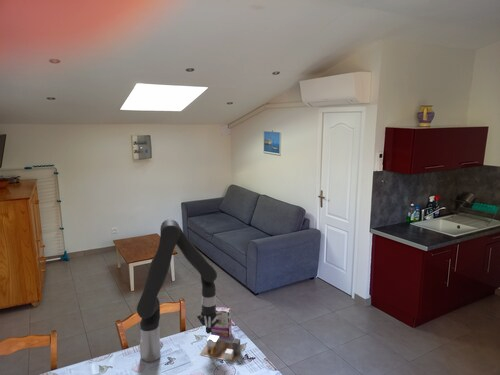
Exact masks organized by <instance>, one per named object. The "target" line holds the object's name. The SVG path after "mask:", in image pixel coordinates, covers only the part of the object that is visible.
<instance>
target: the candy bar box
mask: <svg viewBox="0 0 500 375" xmlns="http://www.w3.org/2000/svg"><path fill="white" fill-rule="evenodd" d="M216 314H217V316H218V317H220V318H221V319H220V320H219V322H218V323H217V324H216V325H215V326H214V327H212V331H211V333H210V335H215V336H219V337H223V338H230V337H231V336H232V308H230V307H223V306H216ZM214 322H215V318H214V320H213V322H212V323H214Z"/></svg>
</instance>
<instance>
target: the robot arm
mask: <svg viewBox="0 0 500 375" xmlns="http://www.w3.org/2000/svg"><path fill="white" fill-rule="evenodd" d="M159 232H160V236H159V241H158V247H157V250H156V253H154V256H153V258H152V260H151V262H150V265H149V268H148V271H147V276H146V279H145V282H144V287H143V292H142V294H141V296H140V299H139V301H138V303H137V305H136V314H137V315H138V316H139V318H141V319H140V323H139V326H140V327H139V328H140V341H139V354H140V356H139V357H140V359H142V360H143V362H146V363H152V362H156V361H158V359H160V357H161V354H162V353H161V339H160V337H161V335H160V318H161V308H160V307H161V305H160V304H161V303H160V300H159V297H158V295H159V293H160V291H161V289H162V287H163V285H164V283H165V282H166V279H167V277H168V273H169V270H170V265H171V262H172V257H173V253H174V250H175V249H176V246H177V248H179V250H180V252H181V253H182V255H183V256H184V258H185V259H186V260H187V262H189V264H190V265H191V266H192V267H193V268H194V269H195V270H196V271H197V272H198V273H199V274H200V280H201V312H200V313H199V314H198V315H197V320H198V321H199V322H200V323H201V325H202V326H204V327H205V333H206V334H209V335H211V331H212V327H214V326H215V325H216V324H217V323H218V322H219V320H220V319H221V318H220V317H218V316H217V314H216V307H217V296H216V293H217V292H216V290H217V289H216V285H215V281H216V280H217V278H218V273H217V270H216V269H215V268H214V267H213V265H212V264H210V263H209V262H208V261H207V259H206V258H205V257H204V256H203V254H201V252H200V251H199V250H198V249H197V247H195V245H194V244H193V243H192V242H191V241H190V239H189V238H188V237H187V236H186V234H185V233H184V232H183V229H181V227H180V225H179V223H178V221H176V220H174V219H171V218H169V219H166V220H164V221H163V222H162V223H161V225H160V231H159ZM214 318H215V322H214V323H212V322H213V320H214Z"/></svg>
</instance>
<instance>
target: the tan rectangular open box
mask: <svg viewBox="0 0 500 375" xmlns="http://www.w3.org/2000/svg"><path fill="white" fill-rule="evenodd" d="M244 347H245V345H243V344H241V338H233V341H232V342H231V343H229V342H226V341H220V347H219V348H218V350H217V352H214V353H213V355H212V354H211V351H208V350H207V344H206V345H205V346H204V347H203V349H202V351H201V352H200V353H199V356H202V357H207V358H211V359H212V358H213V359H217V360H222V361H226V362H232V363H236V362H237V360H238V358H239V356H241V353H242V351H243V349H244ZM227 349H232V350H234V356H233V358H232V360H228V359H225V351H226V350H227Z"/></svg>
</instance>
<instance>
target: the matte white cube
mask: <svg viewBox="0 0 500 375" xmlns="http://www.w3.org/2000/svg"><path fill="white" fill-rule="evenodd" d="M233 356H234V350H232V349H227V350H226V351H225V359H228V360H232V358H233Z"/></svg>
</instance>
